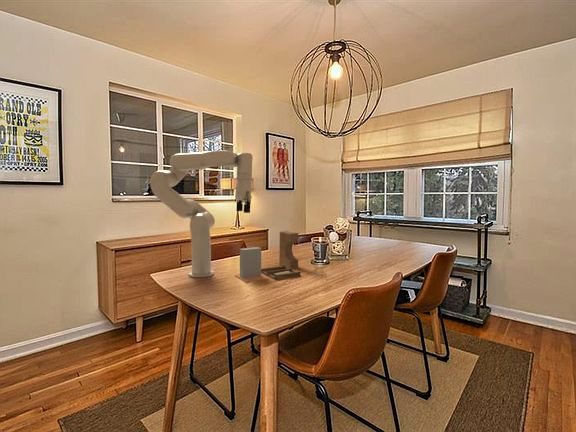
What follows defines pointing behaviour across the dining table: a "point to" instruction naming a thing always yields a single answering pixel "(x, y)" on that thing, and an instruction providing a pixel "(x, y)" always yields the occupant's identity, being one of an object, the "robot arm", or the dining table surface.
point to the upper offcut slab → (282, 273)
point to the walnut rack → (272, 270)
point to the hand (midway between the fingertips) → (243, 211)
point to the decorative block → (287, 249)
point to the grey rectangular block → (250, 262)
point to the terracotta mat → (252, 278)
